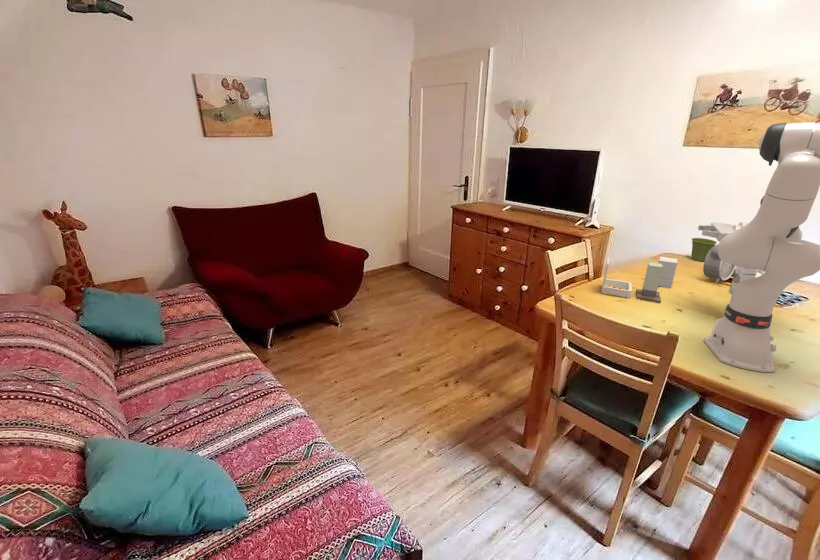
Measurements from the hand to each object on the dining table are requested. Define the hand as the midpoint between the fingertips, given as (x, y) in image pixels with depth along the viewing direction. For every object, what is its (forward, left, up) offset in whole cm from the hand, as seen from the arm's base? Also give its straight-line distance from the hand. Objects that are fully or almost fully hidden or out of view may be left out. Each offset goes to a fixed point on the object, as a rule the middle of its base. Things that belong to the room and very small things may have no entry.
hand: (700, 230), depth 162 cm
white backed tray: (+2, +25, -32) cm, 41 cm away
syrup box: (+24, -25, -32) cm, 47 cm away
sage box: (+2, +12, -31) cm, 33 cm away
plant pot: (+76, -17, -32) cm, 84 cm away
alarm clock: (+41, -19, -32) cm, 56 cm away
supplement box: (+22, +5, -32) cm, 39 cm away
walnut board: (+2, +12, -32) cm, 34 cm away
